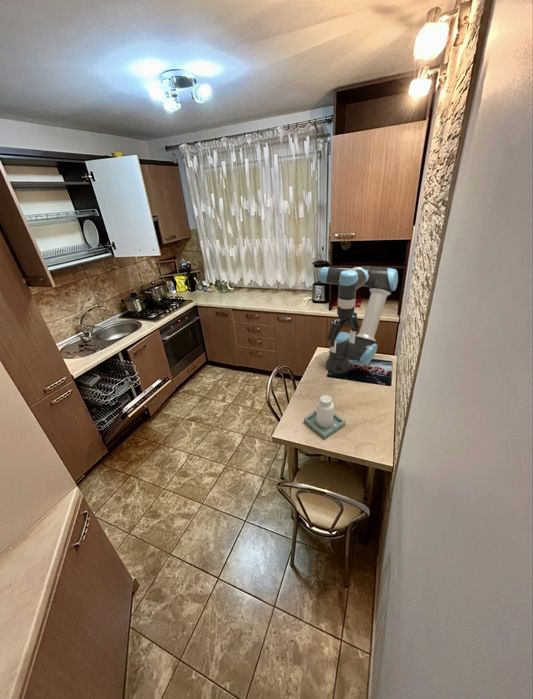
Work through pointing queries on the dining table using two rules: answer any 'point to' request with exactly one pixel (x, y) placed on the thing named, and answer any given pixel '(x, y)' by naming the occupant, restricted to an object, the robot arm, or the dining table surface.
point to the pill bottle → (325, 411)
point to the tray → (322, 431)
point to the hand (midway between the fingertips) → (342, 347)
